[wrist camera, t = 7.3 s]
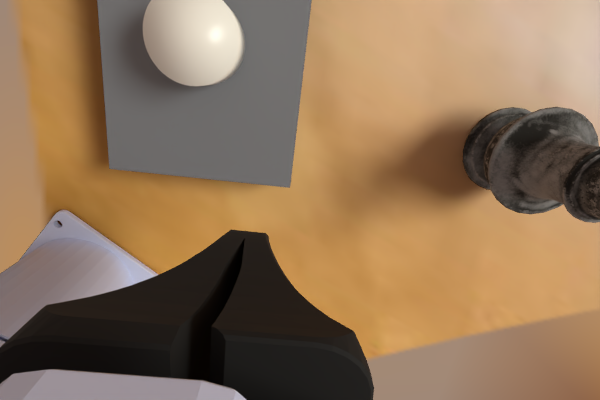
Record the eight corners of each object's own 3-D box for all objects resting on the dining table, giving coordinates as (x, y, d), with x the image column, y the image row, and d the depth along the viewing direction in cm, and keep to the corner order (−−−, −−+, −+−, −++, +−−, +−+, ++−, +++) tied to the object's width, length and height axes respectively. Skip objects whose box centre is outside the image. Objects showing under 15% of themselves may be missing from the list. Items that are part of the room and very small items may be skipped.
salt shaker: (523, 202, 23) (751, 325, 12) (443, 181, 22) (603, 290, 11) (568, 116, 21) (892, 162, 10) (482, 90, 20) (723, 108, 9)
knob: (247, 88, 20) (235, 91, 15) (177, 79, 19) (144, 80, 15) (252, 11, 18) (240, -11, 14) (177, 0, 18) (140, -25, 14)
